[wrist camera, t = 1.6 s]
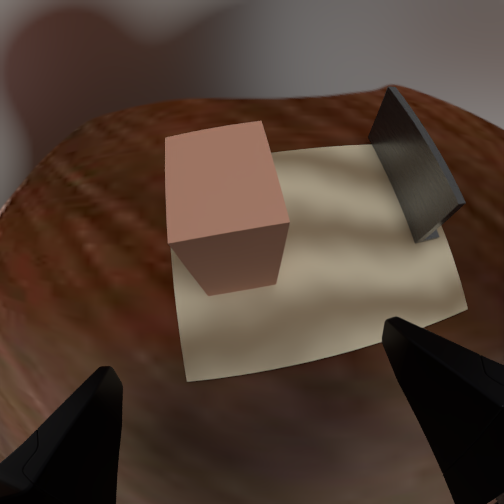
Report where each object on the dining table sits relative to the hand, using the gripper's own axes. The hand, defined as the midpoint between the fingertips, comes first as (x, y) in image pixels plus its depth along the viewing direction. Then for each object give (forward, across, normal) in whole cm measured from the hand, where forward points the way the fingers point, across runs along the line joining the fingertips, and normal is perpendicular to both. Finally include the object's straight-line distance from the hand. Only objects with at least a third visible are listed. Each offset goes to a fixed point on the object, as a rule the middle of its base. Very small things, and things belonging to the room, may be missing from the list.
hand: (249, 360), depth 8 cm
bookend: (+17, -17, 0) cm, 23 cm away
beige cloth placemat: (+14, -7, +3) cm, 16 cm away
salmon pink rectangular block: (+14, 0, +2) cm, 14 cm away
